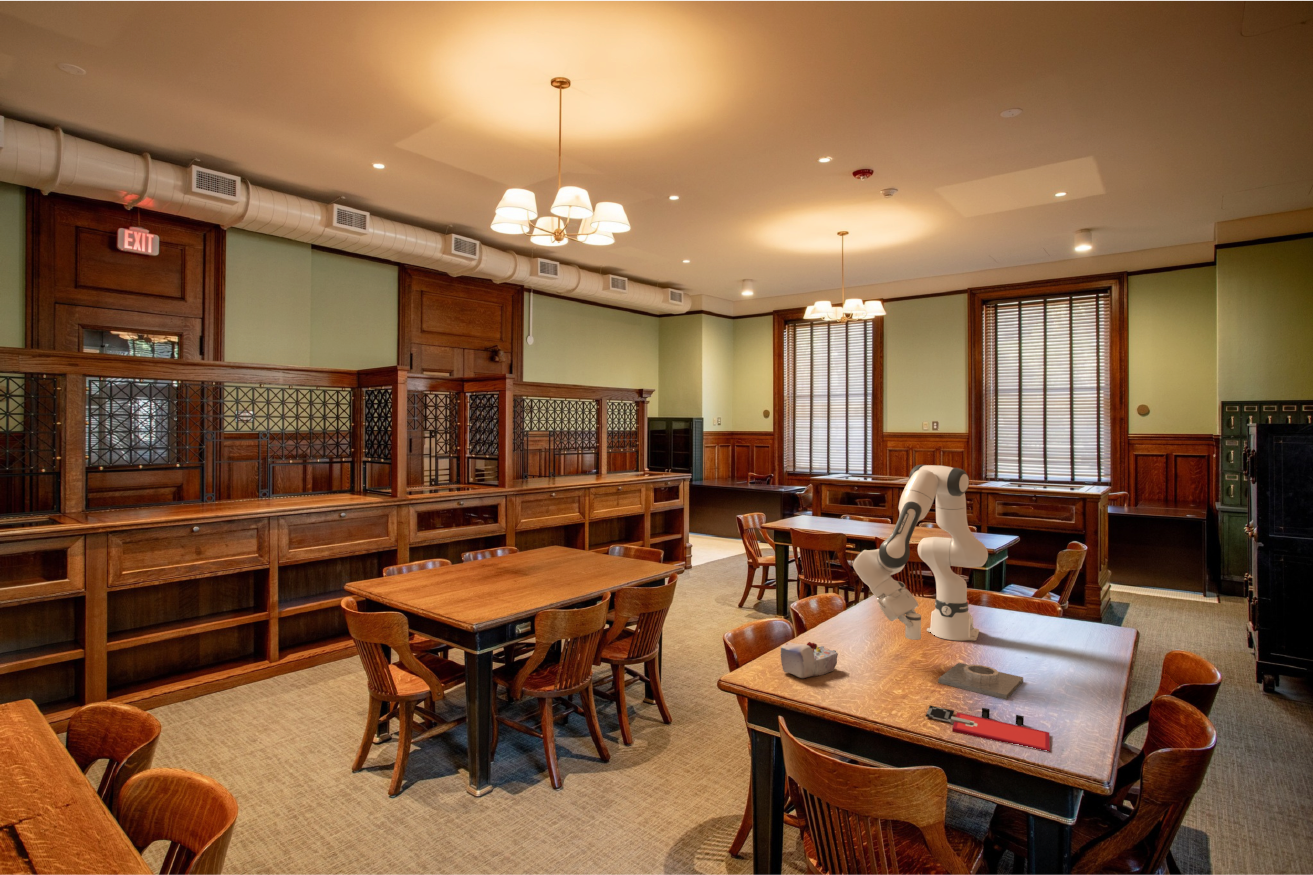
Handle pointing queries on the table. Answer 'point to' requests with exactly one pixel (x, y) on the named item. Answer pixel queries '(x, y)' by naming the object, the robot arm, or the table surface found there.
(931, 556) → the robot arm
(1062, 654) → the table surface
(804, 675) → the cell model
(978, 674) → the ring mount
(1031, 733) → the red board with handle
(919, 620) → the banded peg cylinder
